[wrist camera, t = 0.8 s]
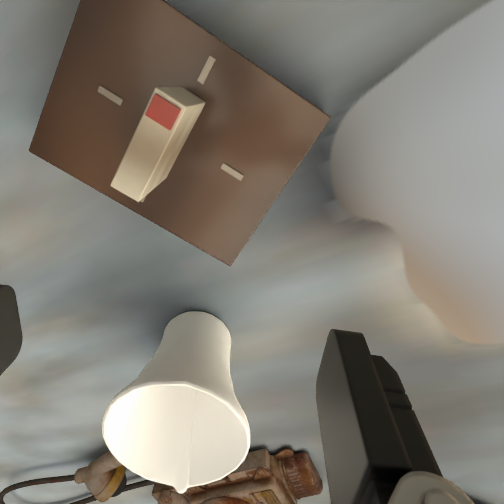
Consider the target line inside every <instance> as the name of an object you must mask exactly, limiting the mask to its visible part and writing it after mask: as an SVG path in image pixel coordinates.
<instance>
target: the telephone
mask: <svg viewBox="0 0 504 504" xmlns="http://www.w3.org/2000/svg"><path fill="white" fill-rule="evenodd" d="M125 470H126V467H125V466H124V465H123V464H121V463H120V462H119V461H118V460H117V459H116V458H115V457H114V455H113V454H112V453H111V452H110V451H108V452H106V453H104V454H103V455H101V456H100V457H98V458H97V459H96V460H94V461H93V462H91V463H90V464H89V465H88V466H86V467H83V468H80V469H78V470H77V471H76V473H75V475H68V476H58V477H49V478H41V479H34V480H29V481H24V482H20V483H16V484H13V485H11V486H9V487H7V488H5V489H4V490H3V491H2V492H1V493H0V504H5V503H4V501H3V497H4V495H5V494H7V493H8V492H10V491H12V490H15V489H18V488H22V487H26V486H31V485H38V484H46V483H55V482H65V481H72V480H75V482H76V483H78V484H80V483H84V482H85V484H86V486H87V488H88V490H89V491H90V492H91V493H92V495H93V496H91V497H88V498H85V499H82V500H79V501H76V502H73V503H70V504H86V503H89V502H92V501H95V500H98V501H100V502H105V501H106V500H108V499H109V498H110V497H115V496H117V495H119V494H120V493H121V492H124V491H128V490H132V489H135V488H139V487H143V486H147V485H152V484H154V487H153V491H152V496H153V497H154V498H155V499H156V500H157V501H158V504H297V499H300V498H303V497H308V496H313V495H317V494H320V493H321V492H322V489H323V485H322V480H321V479H320V477H319V475H318V473H317V471H316V469H315V467H314V465H313V463H312V461H311V459H310V457H309V455H308V453H306V452H302V453H297V454H294V452H293V450H292V449H288V448H286V449H283V450H282V451H280V452H278V453H277V454H275V455H274V456H273V455H270V454H269V452H268V451H267V449H261V450H256V451H252V452H248V454H247V456H246V458H245V459H244V461H243V462H242V463H241V464H240V466H239V467H238V468H237V469H236V470H234V471H233V472H231V473H230V474H228V475H227V476H225V477H224V478H222V479H221V480H217V481H214V482H211V483H208V484H205V485H199V486H193V487H189V488H187V490H186V491H185V492H184V493H178V492H177V491H176V489H175V488H174V487H173V486H170V485H166V484H162V483H158V482H154V481H150V480H144V481H140V482H136V483H133V484H129V485H126V483H127V479H126V475H125ZM296 498H297V499H296Z"/></svg>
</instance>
